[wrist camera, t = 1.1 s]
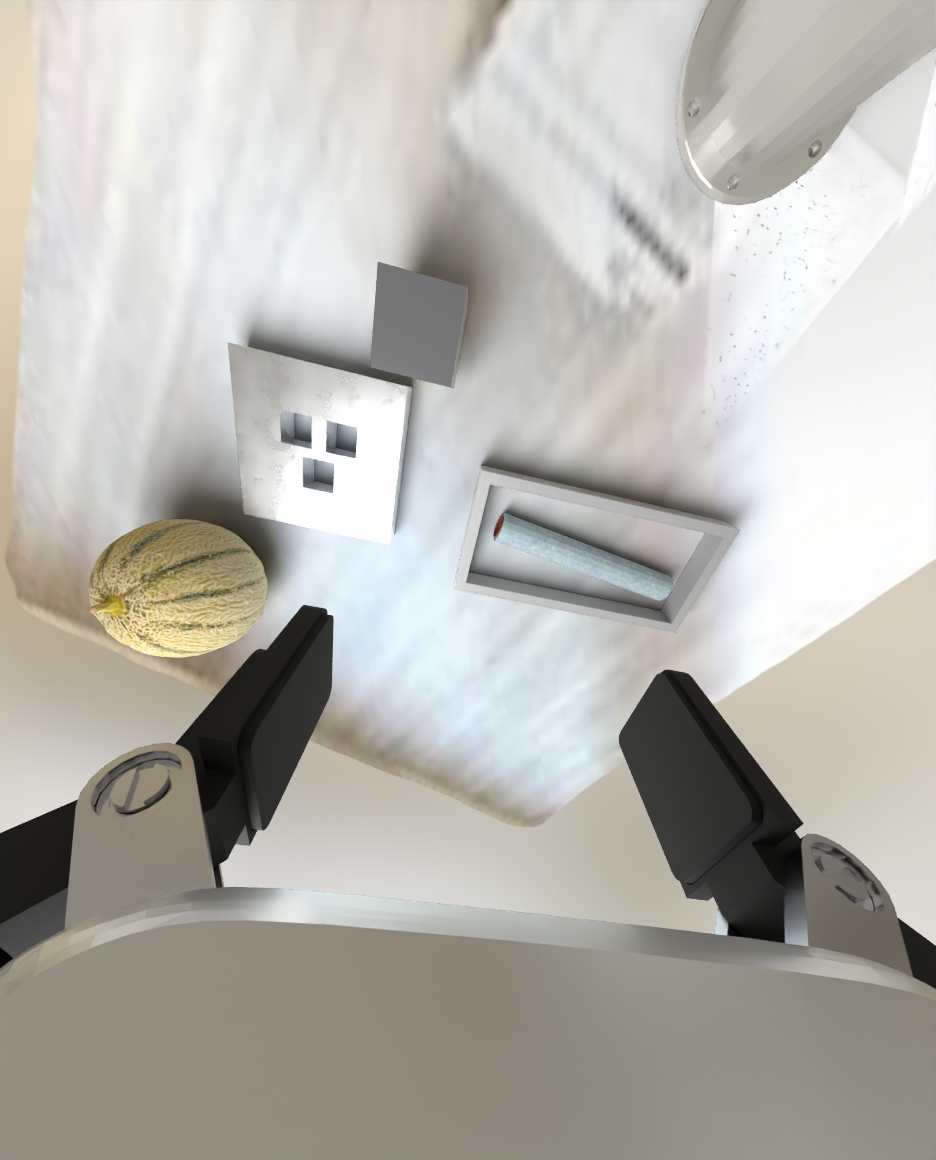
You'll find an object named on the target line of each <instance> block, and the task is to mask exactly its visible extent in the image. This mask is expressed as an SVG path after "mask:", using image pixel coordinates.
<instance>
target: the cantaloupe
mask: <svg viewBox="0 0 936 1160" xmlns="http://www.w3.org/2000/svg"><path fill="white" fill-rule="evenodd" d="M88 590H89V593H90V598H89V599H90V606H91V607H90V610H89V612H91V613H93V614H94V615H95V616H96V617H97V618H98V619H99V620H100V622H101V623H102V624H103V626H104V627H105V629H106V631H107V632H108V633H109V634H110V635H111V636H113V637H114V638H115V639H117V640H118V641H119V642H121V643H123V644H125V645H127V646H129V647H131V648H133V649H135V650H138V651H140V652H142V653H145V654H149V655H155V656H162V657H187V656H193V655H200V654H203V653H206V652H211V651H212V650H216V649H218V648H221V647H224V646H226V645H228V644H229V643H232V642H234V641H236V640H238V639H239V638H241V637H242V636H243V635H244V634H245V633H246V632H248V631H249V630H250V629H251V628H252V627H253V625H254V624H255V623H256V622H257V621H258V620H259V618H260V616H261V615H262V612H263V609H264V604H265V602H266V600H267V594H268V581H267V578H266V575H265V572H264V567H263V565H262V562H261V561H260V559H259V558H258V557H257V556H256V554H255V553H254V551H253V550H252V549H251V547H249V546H248V545H247V543H246V542H245V541H243V540H242V539H241V538H240V537H239V536H237V535H236V534H235V533H233V532H231V531H229V530H227V529H225V528H223V527H220V526H217V525H213V524H210V523H207V522H204V521H198V520H190V519H168V520H162V521H157V522H153V523H150V524H147V525H144V526H142V527H139V528H137V529H135V530H133V531H131V532H129V533H127V534H125V535H124V536H122V537H120V538H119V539H117V540H116V541H114V542H113V543H112V544H110V545H109V546H108V547H107V548H106V549H105V550H104V551H103V553H102V554H101V555H100V557H99V558H98V560H97V562H96V563H95V566H94V568H93V571H92V573H91V576H90V579H89V582H88Z"/></svg>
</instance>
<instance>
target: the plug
mask: <svg viewBox="0 0 936 1160" xmlns="http://www.w3.org/2000/svg"><path fill="white" fill-rule="evenodd" d="M468 305H469V297H468V287H467V286H464V285H460V284H456V283H453V282H449V281H446V280H442V279H438V278H435V277H431V276H427V275H424V274H420V273H417V272H413V271H409V270H406V269H402V268H399V267H395V266H391V265H388V264H384V263H381V262H378V267H377V281H376V295H375V309H374V323H373V337H372V351H371V365H370V367H371V368H375V369H379V370H383V371H387V372H391V373H395V374H399V375H403V376H407V377H411V378H415V379H419V380H423V381H427V382H431V383H435V384H439V385H443V386H447V387H451V388H454V385H455V379H456V374H457V368H458V362H459V356H460V351H461V345H462V339H463V333H464V328H465V322H466V316H467V311H468Z"/></svg>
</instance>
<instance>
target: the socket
mask: <svg viewBox="0 0 936 1160" xmlns="http://www.w3.org/2000/svg"><path fill="white" fill-rule="evenodd" d="M228 349H229V360H230V371H231V381H232V392H233V403H234V414H235V425H236V435H237V446H238V457H239V468H240V479H241V489H242V500H243V511H244V514H246V515H251V516H256V517H260V518H265V519H270V520H275V521H280V522H285V523H290V524H295V525H299V526H304V527H309V528H314V529H319V530H324V531H329V532H334V533H338V534H343V535H348V536H353V537H358V538H363V539H368V540H373V541H377V542H382V543H387V544H389V543H390V541H391V540H392V538H393V536H394V533H395V525H396V517H397V509H398V501H399V493H400V485H401V477H402V469H403V461H404V453H405V445H406V437H407V429H408V421H409V413H410V405H411V397H412V389H413V387H410V386H405V385H401V384H397V383H393V382H389V381H385V380H381V379H377V378H373V377H369V376H365V375H361V374H357V373H353V372H349V371H345V370H341V369H337V368H333V367H328V366H324V365H320V364H316V363H312V362H308V361H304V360H300V359H296V358H292V357H288V356H284V355H280V354H276V353H272V352H268V351H264V350H260V349H256V348H252V347H247V346H243V345H238V344H233V343H228ZM294 413H297V414H301V415H305V416H310V417H312V443H311V442H306V441H302V440H298V439H295V427H294ZM337 423H340V424H344V425H348V426H353V427H357V428H358V431H357V447H356V453H355V452H351V451H346V450H342V449H337V448H336V441H337ZM315 459H317V460H321V461H326V462H330V463H335V464H334V485H330V484H325V483H321V482H316V481H314V463H315Z"/></svg>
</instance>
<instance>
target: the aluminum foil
mask: <svg viewBox="0 0 936 1160" xmlns="http://www.w3.org/2000/svg"><path fill="white" fill-rule="evenodd" d="M493 536H494V541H497V542H499V543H502V544H505V545H507V546H510V547H513V548H516V549H518V550H521V551H524V552H527V553H529V554H532V555H535V556H537V557H540V558H543V559H546V560H548V561H551V562H554V563H557V564H559V565H562V566H565V567H567V568H570V569H573V570H576V571H578V572H581V573H584V574H587V575H589V576H592V577H595V578H597V579H600V580H603V581H606V582H608V583H611V584H614V585H617V586H619V587H622V588H625V589H627V590H630V591H633V592H636V593H638V594H641V595H644V596H647V597H649V598H652V599H655V600H663V599H665V598H666V597H667V596H668V595H669V594H670V592H671V590H672V586H673V580H672V578H671V577H670V576H668V575H666V574H663V573H661V572H658V571H655V570H653V569H650V568H647V567H645V566H642V565H640V564H637V563H634V562H632V561H629V560H627V559H624V558H621V557H619V556H616V555H613V554H611V553H608V552H606V551H603V550H600V549H598V548H595V547H593V546H590V545H587V544H585V543H582V542H579V541H577V540H574V539H572V538H569V537H566V536H564V535H561V534H559V533H556V532H553V531H551V530H548V529H545V528H543V527H540V526H538V525H535V524H532V523H530V522H527V521H525V520H522V519H519V518H517V517H514V516H511V515H509V514H506V513H504V514H503V515H502V516H500V518H499V520H498V522H497V524H496V527H495V530H494V535H493Z"/></svg>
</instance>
